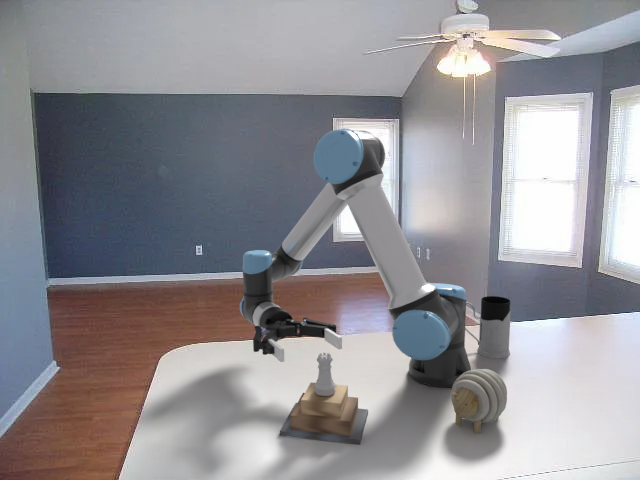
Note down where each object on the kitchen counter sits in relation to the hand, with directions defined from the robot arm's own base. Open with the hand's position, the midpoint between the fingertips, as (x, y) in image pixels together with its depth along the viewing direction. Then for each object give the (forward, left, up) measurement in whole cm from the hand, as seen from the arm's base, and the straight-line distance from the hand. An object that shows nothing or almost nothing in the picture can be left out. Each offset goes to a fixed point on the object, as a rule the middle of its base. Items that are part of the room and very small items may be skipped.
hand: (312, 349), depth 107 cm
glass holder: (-38, -44, -15) cm, 60 cm away
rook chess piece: (-3, +3, -8) cm, 9 cm away
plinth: (-3, +3, -15) cm, 15 cm away
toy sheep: (-34, -4, -15) cm, 38 cm away
